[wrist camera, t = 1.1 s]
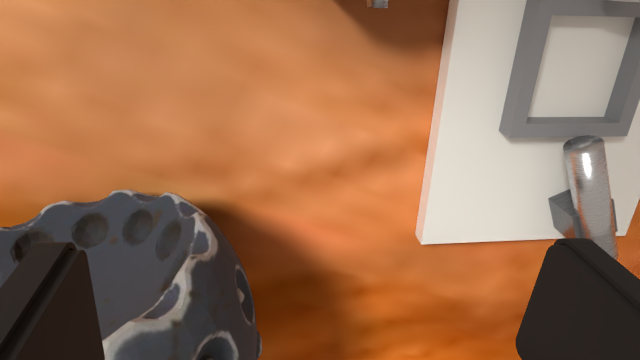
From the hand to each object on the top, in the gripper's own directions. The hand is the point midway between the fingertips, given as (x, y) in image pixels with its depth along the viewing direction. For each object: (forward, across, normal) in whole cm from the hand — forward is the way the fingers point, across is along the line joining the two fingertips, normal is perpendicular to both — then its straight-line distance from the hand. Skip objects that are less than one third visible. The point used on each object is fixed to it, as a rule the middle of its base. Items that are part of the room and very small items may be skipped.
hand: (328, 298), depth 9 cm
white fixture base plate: (+23, -20, -1) cm, 31 cm away
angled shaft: (+21, -23, +8) cm, 32 cm away
